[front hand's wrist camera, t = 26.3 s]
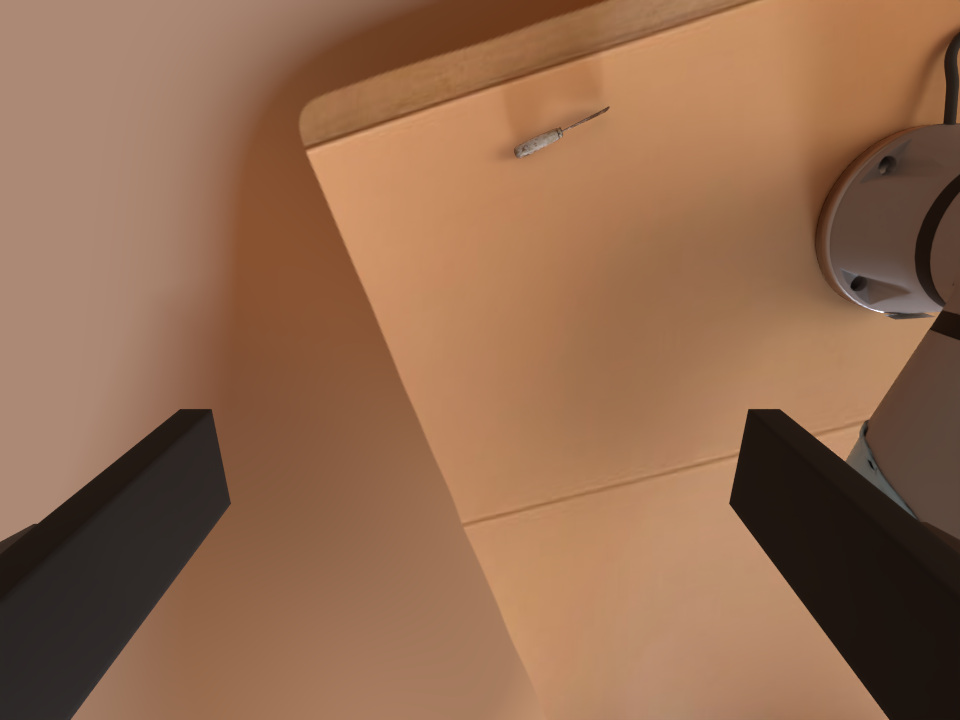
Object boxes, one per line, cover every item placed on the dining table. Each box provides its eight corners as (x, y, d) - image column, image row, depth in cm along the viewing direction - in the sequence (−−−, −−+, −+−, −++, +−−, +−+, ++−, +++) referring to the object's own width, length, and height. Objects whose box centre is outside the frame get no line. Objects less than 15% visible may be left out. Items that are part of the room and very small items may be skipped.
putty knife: (512, 148, 42) (513, 148, 40) (603, 101, 41) (608, 98, 39) (517, 160, 42) (518, 160, 41) (608, 113, 41) (613, 111, 40)
